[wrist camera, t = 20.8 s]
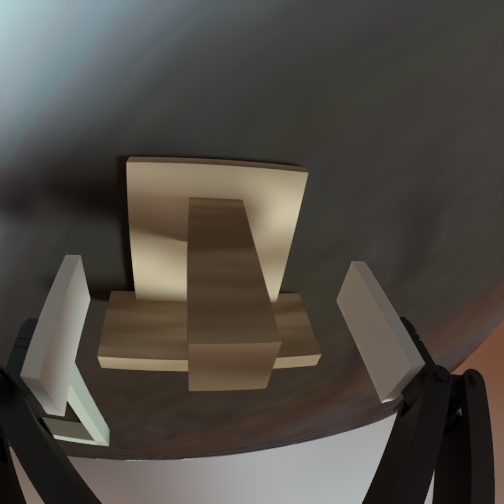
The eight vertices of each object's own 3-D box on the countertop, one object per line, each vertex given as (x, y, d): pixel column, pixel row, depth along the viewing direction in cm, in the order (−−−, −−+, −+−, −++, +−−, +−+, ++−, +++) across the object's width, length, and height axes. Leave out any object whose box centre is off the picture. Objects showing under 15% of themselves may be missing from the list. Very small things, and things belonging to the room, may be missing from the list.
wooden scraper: (96, 156, 16) (10, 289, 7) (333, 169, 19) (435, 292, 10) (113, 301, 23) (92, 438, 14) (295, 303, 25) (337, 429, 17)
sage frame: (-87, 318, 20) (-95, 333, 18) (66, 344, 25) (61, 366, 23) (-21, 405, 31) (-25, 418, 29) (109, 430, 36) (108, 446, 34)
